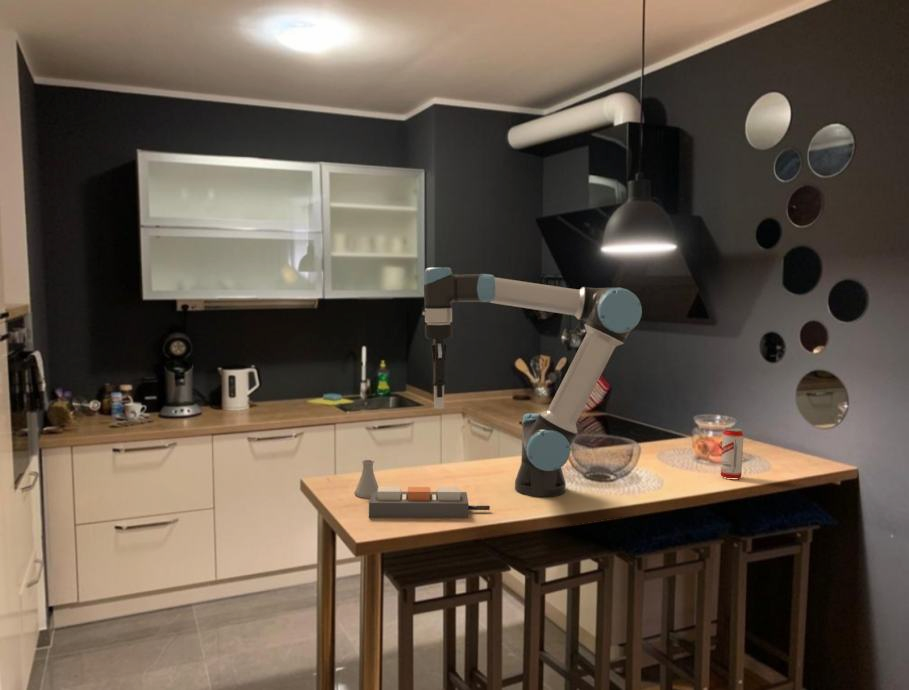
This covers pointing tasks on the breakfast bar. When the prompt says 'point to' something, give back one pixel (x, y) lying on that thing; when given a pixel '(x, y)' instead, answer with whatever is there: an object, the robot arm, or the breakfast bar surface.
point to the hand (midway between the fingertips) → (439, 408)
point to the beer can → (732, 453)
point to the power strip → (421, 507)
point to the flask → (366, 480)
